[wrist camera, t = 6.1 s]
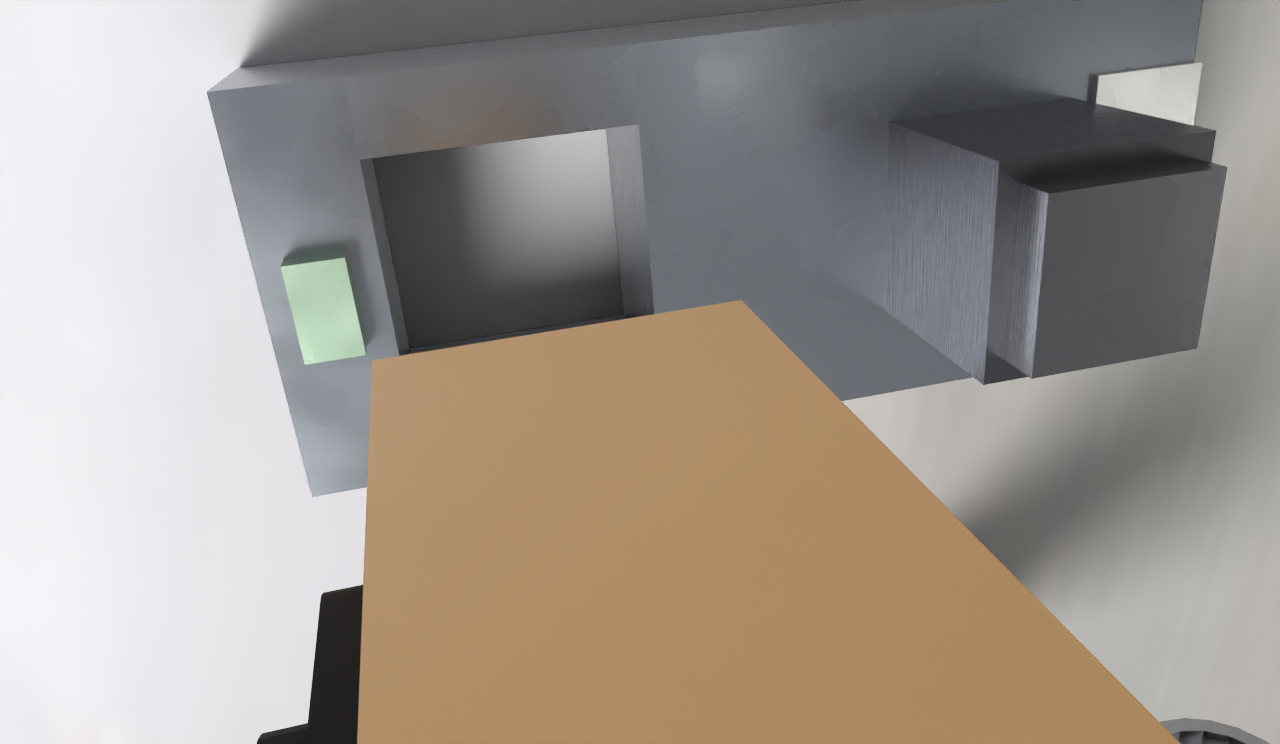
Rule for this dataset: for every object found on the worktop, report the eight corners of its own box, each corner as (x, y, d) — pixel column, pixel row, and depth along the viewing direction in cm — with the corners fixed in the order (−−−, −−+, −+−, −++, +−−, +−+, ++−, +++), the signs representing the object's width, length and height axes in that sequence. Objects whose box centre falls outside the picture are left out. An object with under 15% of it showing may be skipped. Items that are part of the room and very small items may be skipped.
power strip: (1095, -26, 29) (1434, -12, 19) (1063, 295, 33) (1328, 435, 23) (238, 68, 25) (138, 143, 15) (324, 419, 29) (287, 649, 19)
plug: (741, 300, 14) (1427, 993, 5) (753, 593, 16) (1240, 1463, 7) (371, 360, 13) (330, 1362, 4) (437, 663, 15) (513, 1770, 6)
